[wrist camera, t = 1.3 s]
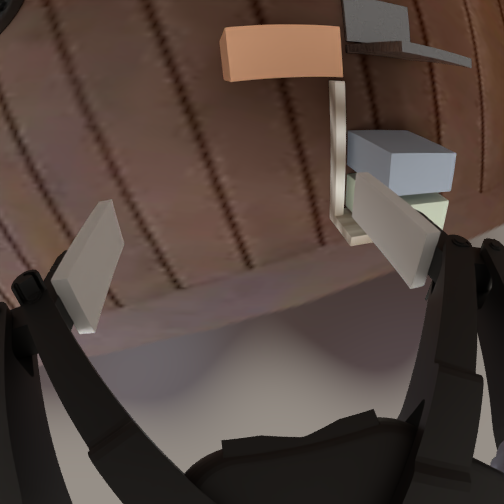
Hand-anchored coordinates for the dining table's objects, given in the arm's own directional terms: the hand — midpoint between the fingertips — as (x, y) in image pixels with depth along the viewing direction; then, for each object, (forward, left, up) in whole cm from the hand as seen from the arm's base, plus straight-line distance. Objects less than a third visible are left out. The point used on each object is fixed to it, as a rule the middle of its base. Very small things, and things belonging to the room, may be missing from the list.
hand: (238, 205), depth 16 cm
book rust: (-8, +6, -20) cm, 22 cm away
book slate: (+3, +20, -20) cm, 28 cm away
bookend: (-12, +20, -19) cm, 30 cm away
